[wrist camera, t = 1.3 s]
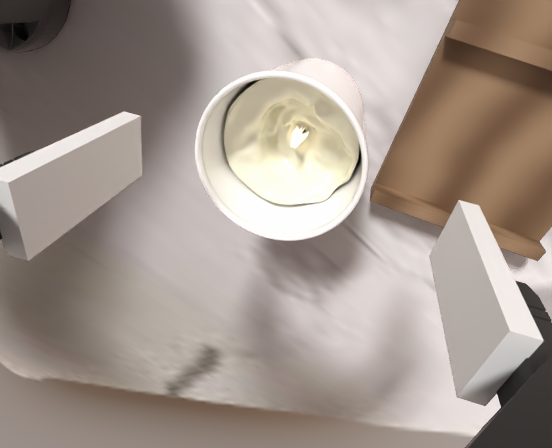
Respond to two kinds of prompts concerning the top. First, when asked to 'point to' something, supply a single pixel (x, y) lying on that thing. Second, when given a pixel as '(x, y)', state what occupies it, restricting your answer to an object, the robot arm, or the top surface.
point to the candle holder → (285, 149)
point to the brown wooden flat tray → (481, 126)
